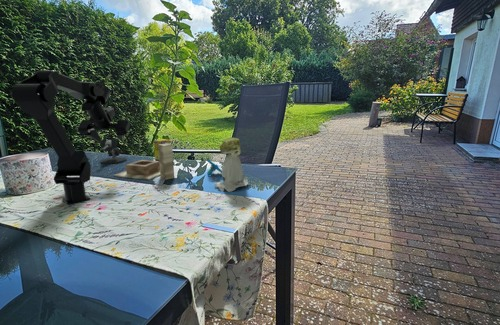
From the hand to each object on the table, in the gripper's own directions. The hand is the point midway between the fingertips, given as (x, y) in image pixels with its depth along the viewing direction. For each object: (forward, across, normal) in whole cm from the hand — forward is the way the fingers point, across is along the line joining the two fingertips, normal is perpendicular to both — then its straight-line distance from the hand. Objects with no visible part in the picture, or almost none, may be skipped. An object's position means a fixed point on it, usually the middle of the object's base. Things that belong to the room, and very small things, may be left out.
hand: (112, 142), depth 117 cm
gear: (+12, -43, +9) cm, 45 cm away
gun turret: (+26, +12, -10) cm, 30 cm away
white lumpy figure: (+2, -50, +22) cm, 55 cm away
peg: (+9, -23, +12) cm, 28 cm away
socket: (+14, -11, +6) cm, 18 cm away
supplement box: (+28, -12, -14) cm, 34 cm away
